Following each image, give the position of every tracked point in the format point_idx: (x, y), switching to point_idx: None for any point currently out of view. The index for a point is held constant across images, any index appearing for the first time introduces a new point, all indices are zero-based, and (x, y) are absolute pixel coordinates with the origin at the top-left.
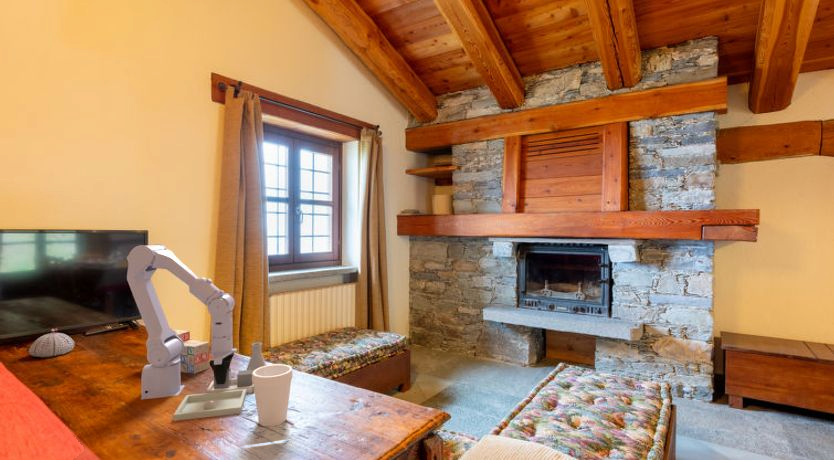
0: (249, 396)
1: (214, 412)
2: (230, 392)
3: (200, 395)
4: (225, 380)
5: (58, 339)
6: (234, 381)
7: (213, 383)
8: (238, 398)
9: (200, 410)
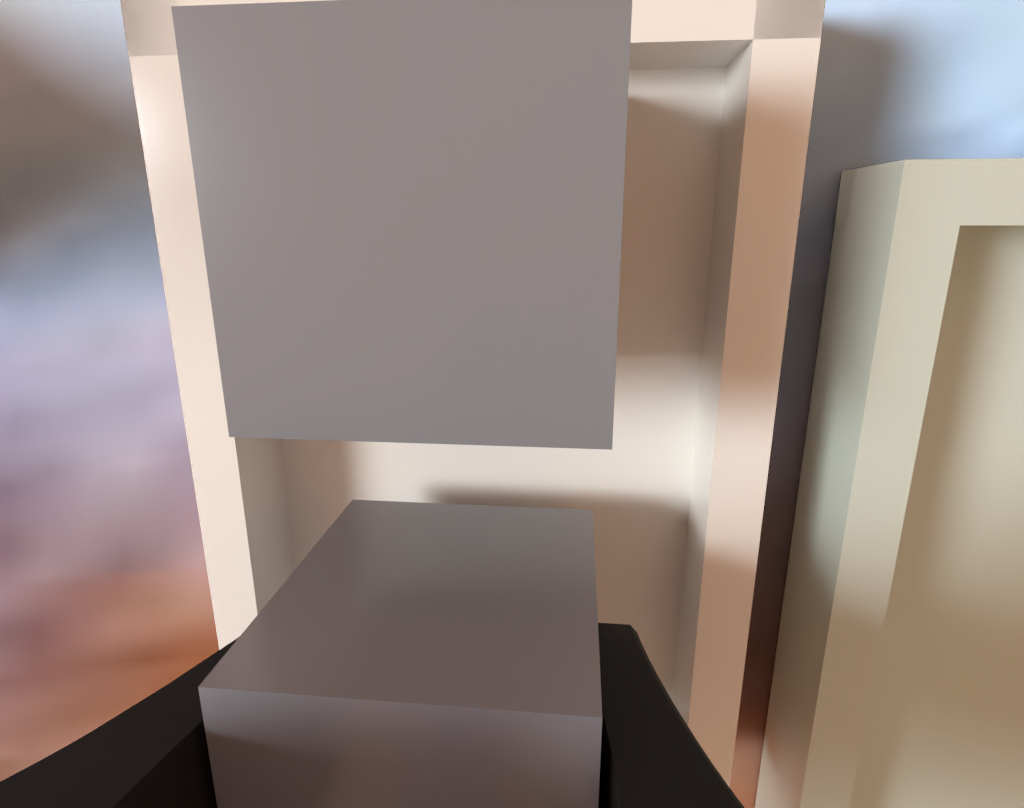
0: (890, 109)
1: None
2: (904, 461)
3: None
4: (624, 650)
5: None
6: (258, 445)
7: None
8: (1018, 293)
9: None
